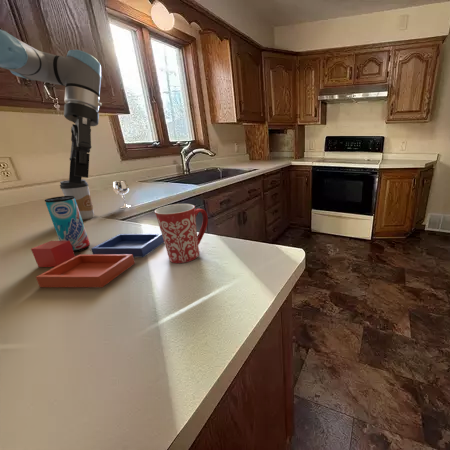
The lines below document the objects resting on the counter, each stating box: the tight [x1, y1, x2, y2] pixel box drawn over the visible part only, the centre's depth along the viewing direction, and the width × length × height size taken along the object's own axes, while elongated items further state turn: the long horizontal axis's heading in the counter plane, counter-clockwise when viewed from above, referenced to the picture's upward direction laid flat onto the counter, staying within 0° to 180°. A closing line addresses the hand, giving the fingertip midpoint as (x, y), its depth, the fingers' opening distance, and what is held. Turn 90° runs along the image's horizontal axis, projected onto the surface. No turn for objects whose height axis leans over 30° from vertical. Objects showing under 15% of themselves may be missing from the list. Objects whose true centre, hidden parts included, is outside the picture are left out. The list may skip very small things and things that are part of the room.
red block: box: [30, 240, 76, 268], centre depth 62 cm, size 5×5×5 cm
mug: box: [154, 203, 209, 264], centre depth 64 cm, size 13×9×14 cm
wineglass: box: [112, 179, 132, 209], centre depth 113 cm, size 6×6×12 cm
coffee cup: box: [59, 178, 95, 221], centre depth 97 cm, size 8×8×15 cm
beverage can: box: [44, 195, 91, 253], centre depth 68 cm, size 6×6×15 cm
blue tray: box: [90, 233, 164, 258], centre depth 70 cm, size 14×11×3 cm
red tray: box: [35, 253, 136, 288], centre depth 56 cm, size 14×11×3 cm
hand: (78, 180), depth 70 cm, fingers open, 13 cm apart
